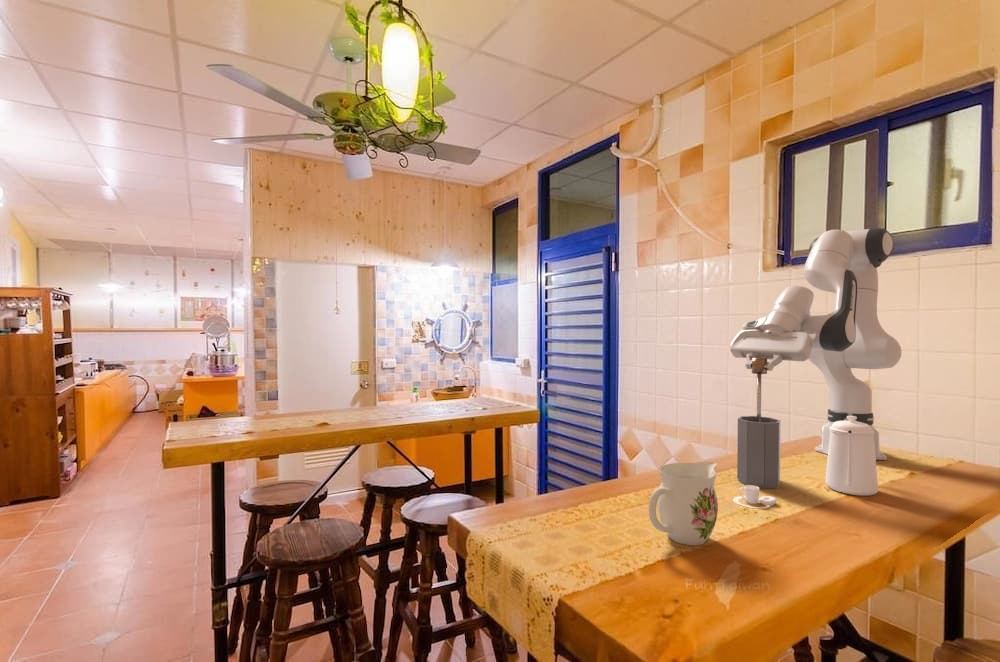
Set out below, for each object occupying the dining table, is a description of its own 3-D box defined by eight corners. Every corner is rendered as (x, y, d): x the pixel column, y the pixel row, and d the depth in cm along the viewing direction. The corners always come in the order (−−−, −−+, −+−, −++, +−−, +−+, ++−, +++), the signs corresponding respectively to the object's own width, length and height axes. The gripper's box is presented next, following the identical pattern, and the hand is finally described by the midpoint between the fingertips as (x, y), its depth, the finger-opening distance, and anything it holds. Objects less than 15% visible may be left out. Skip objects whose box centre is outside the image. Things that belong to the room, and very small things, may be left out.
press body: (743, 472, 139) (743, 413, 139) (782, 478, 134) (782, 417, 134) (735, 484, 129) (735, 420, 129) (777, 491, 123) (777, 424, 123)
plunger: (745, 443, 135) (746, 357, 135) (775, 446, 131) (776, 358, 131) (741, 448, 129) (742, 358, 129) (772, 452, 125) (773, 359, 125)
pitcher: (628, 538, 96) (629, 468, 96) (691, 520, 105) (691, 456, 105) (673, 561, 86) (673, 483, 86) (738, 540, 95) (738, 469, 95)
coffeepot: (821, 499, 118) (821, 421, 117) (828, 474, 137) (829, 407, 137) (878, 509, 111) (879, 426, 111) (877, 481, 131) (878, 411, 131)
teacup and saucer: (778, 504, 115) (779, 487, 115) (769, 514, 109) (770, 496, 109) (739, 495, 121) (739, 479, 121) (728, 504, 115) (728, 487, 115)
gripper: (823, 340, 127) (803, 380, 122) (747, 338, 144) (727, 373, 139) (815, 322, 125) (794, 362, 119) (738, 323, 142) (718, 358, 137)
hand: (757, 368), depth 129 cm, fingers closed on plunger, 4 cm apart
